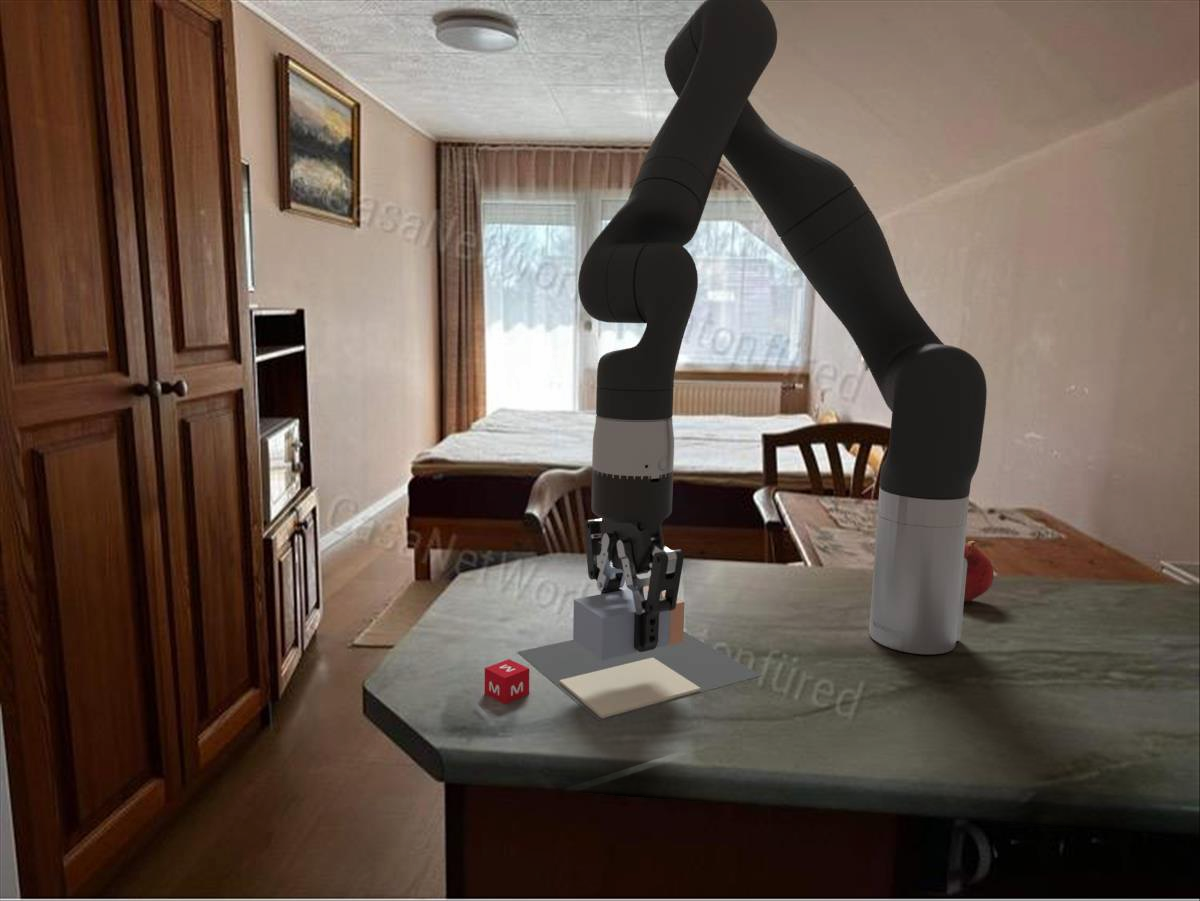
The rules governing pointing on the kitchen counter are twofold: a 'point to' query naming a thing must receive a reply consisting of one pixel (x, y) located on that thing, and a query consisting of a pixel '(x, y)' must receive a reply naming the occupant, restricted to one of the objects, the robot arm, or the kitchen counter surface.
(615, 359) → the robot arm
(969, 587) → the onion
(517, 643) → the kitchen counter surface
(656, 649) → the mat
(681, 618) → the card box
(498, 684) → the red letter m cube
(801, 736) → the kitchen counter surface
